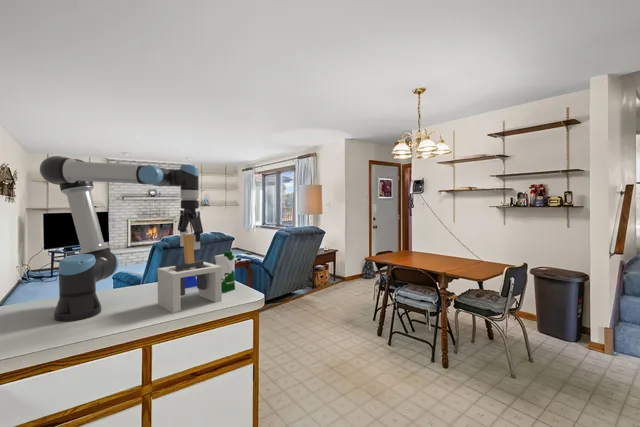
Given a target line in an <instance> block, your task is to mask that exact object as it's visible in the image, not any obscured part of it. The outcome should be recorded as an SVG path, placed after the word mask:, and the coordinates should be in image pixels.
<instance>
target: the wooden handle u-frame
mask: <svg viewBox="0 0 640 427" xmlns="http://www.w3.org/2000/svg"><path fill="white" fill-rule="evenodd" d="M183 241H184V246H183V253H184V255H183V256H184V263H180V264H175V265H174V266H175V267H176V269H174V271H176V272H180V271H184V270H182V269H187V268H192V267H196V268H195V269H199V268H205V265H204V264H203V262H204V260H197V261H195V253H194V252H195V250H194V249H193V233H187V234H184V235H183ZM196 279H197V286H196V288H197V289H198V290H199V289H201V290H205V289H207V287H206V274H200V275H196ZM180 292H181V297H182V296H185V295H186V288H185V282H184V277H183V278H180Z"/></svg>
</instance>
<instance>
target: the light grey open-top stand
mask: <svg viewBox="0 0 640 427" xmlns="http://www.w3.org/2000/svg"><path fill="white" fill-rule="evenodd" d="M203 264H204V265H205V268H199V269H196V267H192V268H187V269H182V270H184V271H180V272H176V271H174V269H176V267H175V265H174V266H172V265H171V266H164V267H158V268H157V304H158V305H159V306H160V307H162V308H164V309H166V310H167V309H168V310H167V311H169V312H171V313H173V314H174V313H178V312H181V299H182V298H181V297H182V296H181V292H180V278H183V277H188V276H194V275H200V274H206V287H207V289H205V290H201V289H198V296H200V297H202V298H205V299H207V300H209V301H211V302H213V303H219V302H221V301H222V297H223V296H222V293H223V292H222V273H221V266H218V265H216V264H214V263H210V262H206V261H203Z"/></svg>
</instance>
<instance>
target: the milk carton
mask: <svg viewBox="0 0 640 427" xmlns="http://www.w3.org/2000/svg"><path fill="white" fill-rule="evenodd" d="M236 257H237V255H236V254H233V251H231V250H230V251H228V250H226V251H224V252H223V254H218V255H214V261H215V265H218V266H221V273H222V293H228V292H230V291H235V290H236V283H235V281H236V280H235V265H236V264H235V262H236V259H237V258H236Z"/></svg>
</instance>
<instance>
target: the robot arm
mask: <svg viewBox="0 0 640 427" xmlns="http://www.w3.org/2000/svg"><path fill="white" fill-rule="evenodd" d="M39 174H40V175H41V177H42V178H43V179H44V180H45V181H46V182H48V183H50V184H53V185H57V186H58V185H59V189H60V191H61V193H62V194H65V196H66V197H67V200H68V201H67V202H68V205H69V209H70V212H71V216H72V220H73V224H74V227H75V232H76V235H77V240H78V242H79V246H80V250H79V252H78V253H77V254H74V255H68V256H66V257H63V258H62V259H61V260H60V261H59V262H58V270H57V271H58V288H59V289H58V290H59V291H58V292H59V298H58V300H57V304H56V306H55V309H54V311H53V319H54V320H55V321H58V322H72V321H79V320H83V319H84V320H85V319H89V318H92V317H95V316H97V315H98V314H100V313H101V312H102V305H101V302H100V300H99V297H98V295H97V291H96V287H97V286H96V283H97V282H100V281H101V280H105V279H108V278H110V277H111V276H113V275H114V274H115V273H116V272H117V270H118V268H119V258H118V256H117V255H116V254H115V253H114V252H112V251H111V248H110V246H109V245H107V244H105V241H104V238H103V234H102V230H101V226H100V222H99V218H98V214H97V211H96V207H95V203H94V200H93V199H94V198H93V195H92V190H93V189H95V188H94V182H95V183H96V182H99V183H116V184H118V183H119V184H133V185H134V184H137V185H152V186H155V187H180V192H179V193H180V194H179V195H180V199H181V200H180V209H181V210H180V213H179V220H178V224H177V231H179V238H180V242H179V243H180V246H179V247H184V241H183V235H184V234H188V233H187V232H188V230H187V229H188V226H189V223H190V225H191V227H192V230H193V233H192V234H193V249H194V251H195V250H201V234H203V233H204V230H203V229H204V228H203V224H202V221H201V220H202V218H201V212H200V210H198V211H197V210H196V209H199V206H200V203H199V202H200V201H199V194H200V192H199V190H200V189H199V182H200V181H199V178H200V175H199V174H200V173H199V167H198V165H195V164H181V165H180V167H179V169H178V168H177V169H175V168H163V167H159V166H157V165H152V164H147V165H139V164H125V163H108V162H94V161H93V162H92V161H91V162H90V161H84V160H82V159H77V158H70V157H66V156H59V155H54V156H49V157H47V158H45V159H43V161H42V162H41V163H40V166H39ZM182 209H183V210H182Z"/></svg>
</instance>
